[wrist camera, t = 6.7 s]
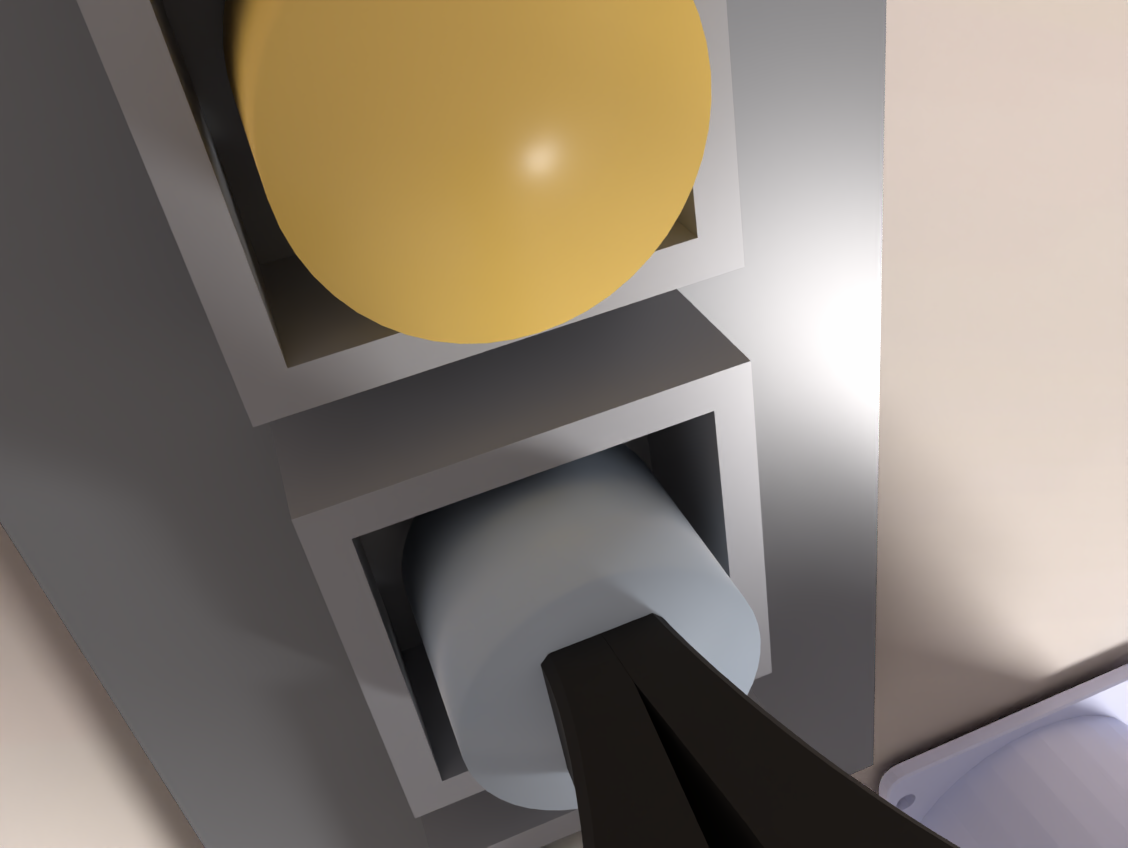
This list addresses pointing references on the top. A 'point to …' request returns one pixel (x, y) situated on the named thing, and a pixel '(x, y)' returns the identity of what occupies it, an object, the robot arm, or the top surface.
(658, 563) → the slate button
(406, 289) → the amber button
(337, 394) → the panel
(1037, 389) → the top surface
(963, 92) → the top surface
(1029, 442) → the top surface
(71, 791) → the top surface
